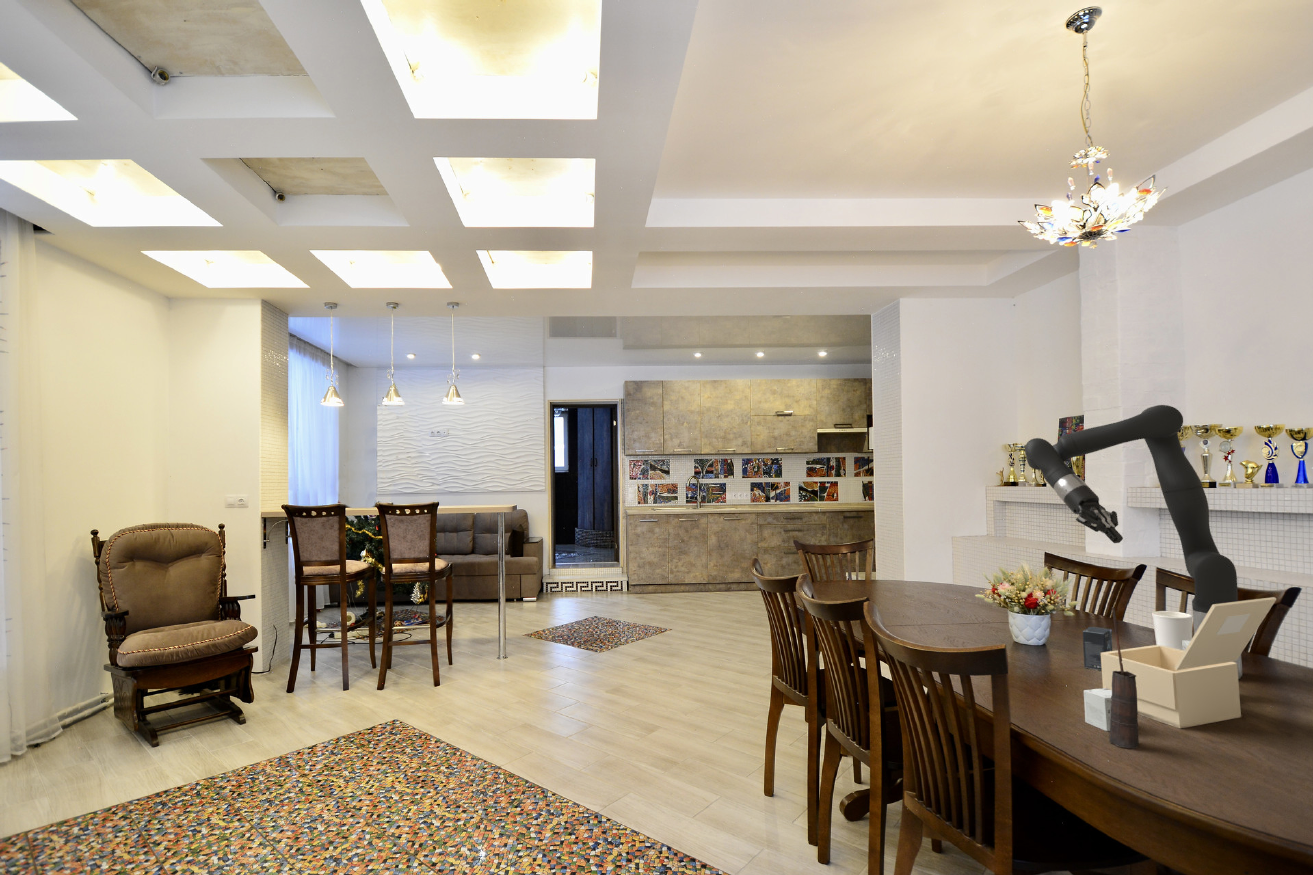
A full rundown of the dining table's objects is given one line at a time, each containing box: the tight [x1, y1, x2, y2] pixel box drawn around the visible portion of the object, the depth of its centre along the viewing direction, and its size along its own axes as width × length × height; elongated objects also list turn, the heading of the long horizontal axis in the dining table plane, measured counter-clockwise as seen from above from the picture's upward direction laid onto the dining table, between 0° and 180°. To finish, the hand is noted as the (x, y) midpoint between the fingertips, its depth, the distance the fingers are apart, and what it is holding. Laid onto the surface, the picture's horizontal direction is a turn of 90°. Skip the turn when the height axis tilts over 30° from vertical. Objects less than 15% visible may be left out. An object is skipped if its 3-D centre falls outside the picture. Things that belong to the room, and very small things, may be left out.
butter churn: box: [1108, 606, 1140, 749], centre depth 142 cm, size 9×10×28 cm
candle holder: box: [1151, 610, 1193, 650], centre depth 207 cm, size 10×10×12 cm
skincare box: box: [1083, 687, 1112, 732], centre depth 153 cm, size 6×6×7 cm
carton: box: [1101, 644, 1242, 730], centre depth 162 cm, size 20×18×12 cm
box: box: [1082, 626, 1114, 671], centre depth 197 cm, size 8×6×11 cm
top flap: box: [1174, 596, 1277, 670], centre depth 149 cm, size 19×18×1 cm
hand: (1119, 541), depth 180 cm, fingers closed
